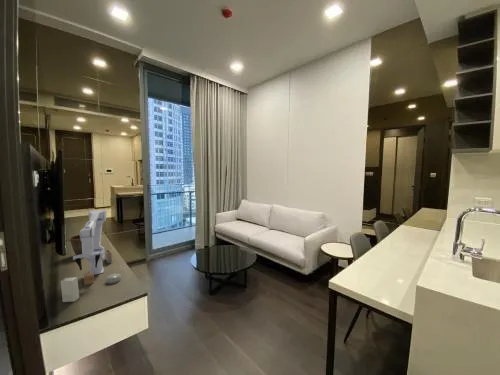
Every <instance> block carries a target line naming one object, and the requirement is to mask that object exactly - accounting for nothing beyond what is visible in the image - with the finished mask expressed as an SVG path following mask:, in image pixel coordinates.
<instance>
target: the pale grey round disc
mask: <svg viewBox="0 0 500 375" xmlns="http://www.w3.org/2000/svg"><path fill="white" fill-rule="evenodd" d="M121 276H122V274H120V273H112V274H108V275H107V276H105V277H106V278H105V281H106V282H105V283H106V284H110V285H111V284H116V283H118V282H120V281H121V280H122V277H121Z"/></svg>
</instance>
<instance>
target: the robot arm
mask: <svg viewBox="0 0 500 375" xmlns="http://www.w3.org/2000/svg"><path fill="white" fill-rule="evenodd" d="M87 213H88V218H89V220H88V221H86V223H85V224H84V227H83V228H82V229H80V230H79V235H80V239H81V241H82V254H80V255H76V254H75V255H73V256H72V260H73V261H75V263H76V265H78V267H79V271H82V270H83V268H82V266H83V265H82V259H85V260H87V262H88V263H89V272H88V273H92V272H94V276H95V275H100V274H103V273H104V266H103V259H104V258H105V250H106V249H105V247H104V246H102V245H101V241H102V233H103V232H102V231H103V224H104V223H106V220H107V210H106V209H96V210H95V209H93V210H92V209H89V211H88V212H87Z"/></svg>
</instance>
